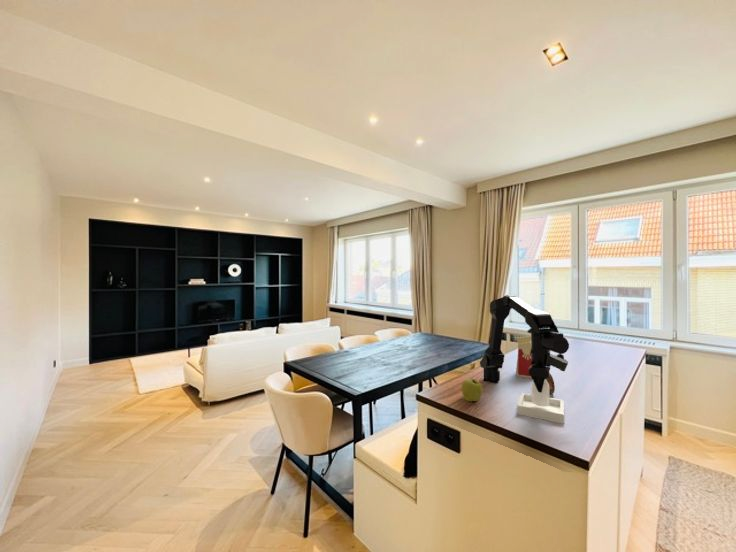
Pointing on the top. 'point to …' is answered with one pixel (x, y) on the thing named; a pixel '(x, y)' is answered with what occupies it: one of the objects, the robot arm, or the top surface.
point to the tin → (551, 383)
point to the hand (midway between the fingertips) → (540, 389)
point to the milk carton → (524, 356)
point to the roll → (541, 394)
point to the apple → (471, 390)
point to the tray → (541, 409)
